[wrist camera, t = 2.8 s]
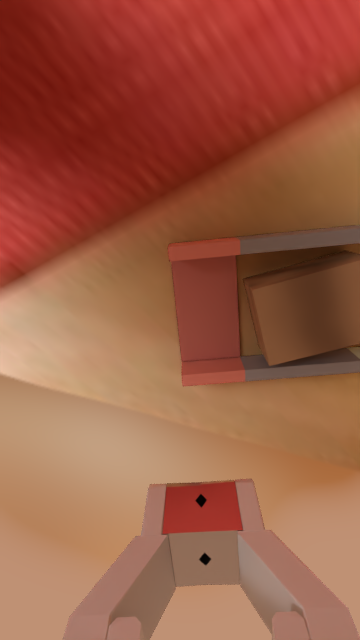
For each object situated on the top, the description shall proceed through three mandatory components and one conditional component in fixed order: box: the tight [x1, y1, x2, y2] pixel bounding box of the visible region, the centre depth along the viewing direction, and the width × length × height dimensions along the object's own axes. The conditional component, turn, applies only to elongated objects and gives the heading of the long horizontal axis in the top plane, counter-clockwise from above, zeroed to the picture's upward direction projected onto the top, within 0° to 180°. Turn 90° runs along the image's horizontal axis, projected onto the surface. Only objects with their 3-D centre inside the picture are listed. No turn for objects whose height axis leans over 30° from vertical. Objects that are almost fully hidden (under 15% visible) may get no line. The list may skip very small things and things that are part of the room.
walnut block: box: [243, 251, 360, 366], centre depth 25 cm, size 8×6×4 cm
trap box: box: [168, 225, 360, 386], centre depth 25 cm, size 28×11×2 cm, turn 96°
